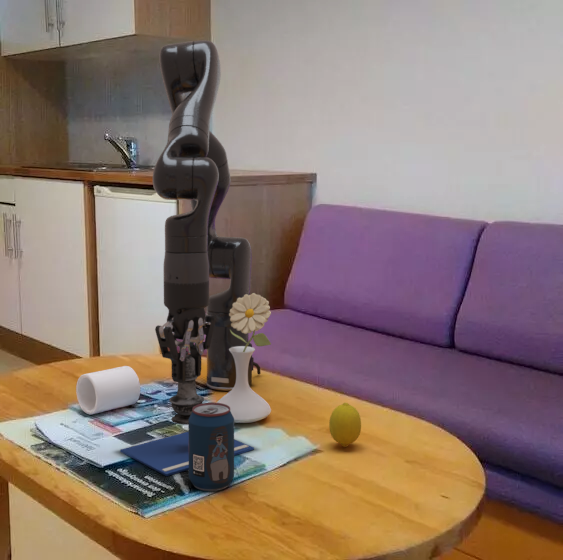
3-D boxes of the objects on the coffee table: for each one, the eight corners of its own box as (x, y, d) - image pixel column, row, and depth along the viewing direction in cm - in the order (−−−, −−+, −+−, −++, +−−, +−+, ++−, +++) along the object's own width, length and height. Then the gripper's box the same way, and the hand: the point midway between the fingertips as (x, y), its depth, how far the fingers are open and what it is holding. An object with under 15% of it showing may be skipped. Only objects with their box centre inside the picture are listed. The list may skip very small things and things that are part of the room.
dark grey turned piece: (210, 417, 133) (210, 349, 131) (192, 427, 128) (192, 356, 126) (181, 412, 135) (181, 345, 134) (162, 421, 130) (162, 352, 128)
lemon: (363, 443, 137) (364, 400, 136) (356, 454, 131) (357, 409, 130) (333, 439, 138) (334, 396, 137) (325, 450, 133) (326, 405, 132)
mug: (141, 408, 155) (140, 369, 154) (98, 419, 148) (97, 378, 147) (108, 395, 164) (107, 358, 162) (65, 405, 156) (64, 367, 155)
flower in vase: (200, 418, 149) (199, 291, 146) (242, 405, 158) (242, 284, 154) (247, 434, 140) (248, 299, 137) (289, 420, 149) (291, 292, 145)
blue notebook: (205, 429, 143) (205, 426, 143) (254, 449, 133) (254, 447, 133) (120, 451, 131) (120, 449, 131) (166, 476, 121) (166, 473, 121)
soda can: (206, 471, 123) (206, 398, 122) (242, 480, 120) (243, 406, 118) (179, 486, 117) (179, 410, 116) (216, 496, 114) (216, 418, 112)
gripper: (177, 285, 120) (178, 392, 123) (229, 275, 132) (229, 373, 135) (140, 281, 124) (141, 385, 126) (194, 272, 136) (194, 367, 138)
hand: (186, 378), depth 130 cm, fingers closed on dark grey turned piece, 3 cm apart
